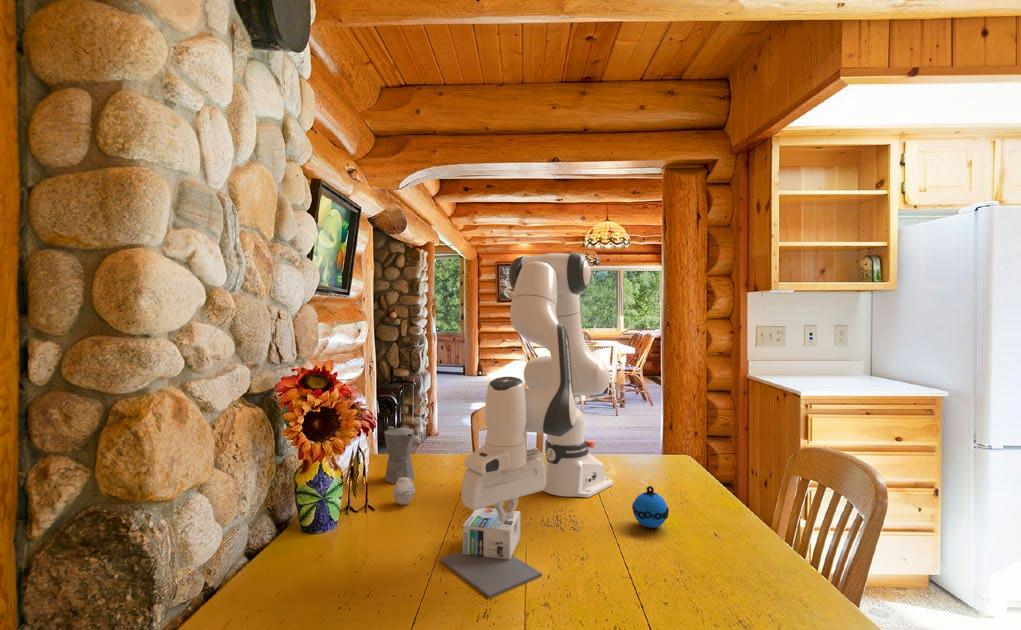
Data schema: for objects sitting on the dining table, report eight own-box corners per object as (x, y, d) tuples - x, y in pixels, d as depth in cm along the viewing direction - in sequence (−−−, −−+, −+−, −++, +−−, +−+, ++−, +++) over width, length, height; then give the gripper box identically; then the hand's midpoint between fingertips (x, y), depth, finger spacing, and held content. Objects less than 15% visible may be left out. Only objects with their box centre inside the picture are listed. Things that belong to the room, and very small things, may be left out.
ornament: (625, 527, 130) (626, 486, 130) (643, 516, 137) (643, 478, 136) (657, 537, 125) (658, 495, 124) (674, 526, 131) (674, 486, 131)
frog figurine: (418, 499, 149) (417, 474, 148) (410, 509, 142) (410, 483, 142) (396, 498, 149) (396, 474, 149) (388, 508, 142) (388, 482, 142)
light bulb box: (510, 530, 112) (461, 524, 115) (510, 561, 112) (461, 555, 115) (520, 510, 123) (476, 505, 125) (520, 538, 123) (475, 533, 125)
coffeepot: (424, 480, 164) (424, 422, 163) (398, 488, 157) (397, 428, 157) (397, 469, 175) (396, 415, 174) (371, 476, 168) (371, 419, 168)
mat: (489, 543, 122) (489, 541, 121) (541, 576, 107) (541, 573, 107) (440, 561, 114) (440, 558, 113) (489, 598, 99) (489, 595, 99)
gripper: (533, 443, 121) (533, 503, 122) (457, 460, 109) (457, 526, 109) (552, 449, 116) (552, 512, 117) (474, 467, 104) (474, 537, 104)
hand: (505, 519), depth 113 cm, fingers closed
